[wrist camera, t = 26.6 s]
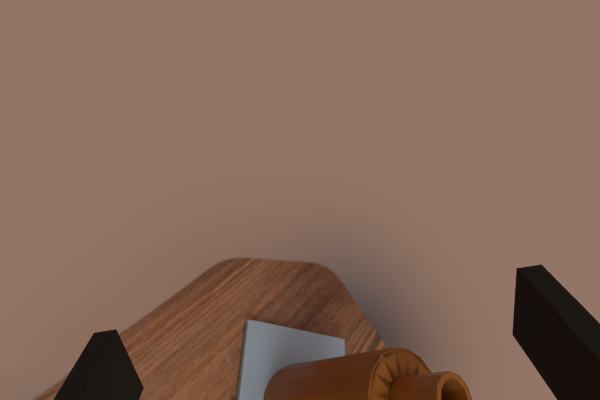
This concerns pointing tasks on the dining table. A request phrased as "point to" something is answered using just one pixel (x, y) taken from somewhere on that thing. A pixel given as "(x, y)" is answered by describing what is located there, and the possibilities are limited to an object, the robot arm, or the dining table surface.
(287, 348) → the mat
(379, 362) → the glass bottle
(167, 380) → the dining table surface
